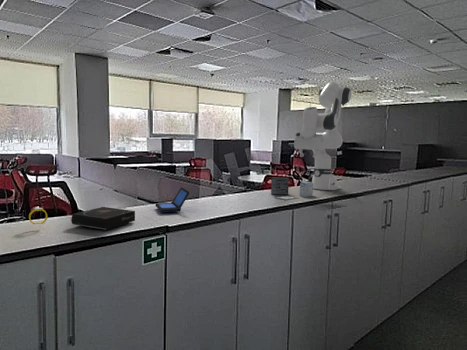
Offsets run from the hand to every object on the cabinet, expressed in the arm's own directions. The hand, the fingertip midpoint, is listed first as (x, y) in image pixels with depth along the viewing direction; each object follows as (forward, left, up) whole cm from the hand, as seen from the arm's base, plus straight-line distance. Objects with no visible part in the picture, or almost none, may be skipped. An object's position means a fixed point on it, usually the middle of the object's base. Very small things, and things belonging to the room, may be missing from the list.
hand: (308, 157), depth 216 cm
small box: (+9, -14, -24) cm, 29 cm away
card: (+16, -1, -24) cm, 29 cm away
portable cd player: (+123, -1, -25) cm, 126 cm away
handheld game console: (+87, -10, -25) cm, 91 cm away
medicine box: (0, 0, -24) cm, 24 cm away
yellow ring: (+145, -9, -24) cm, 147 cm away
